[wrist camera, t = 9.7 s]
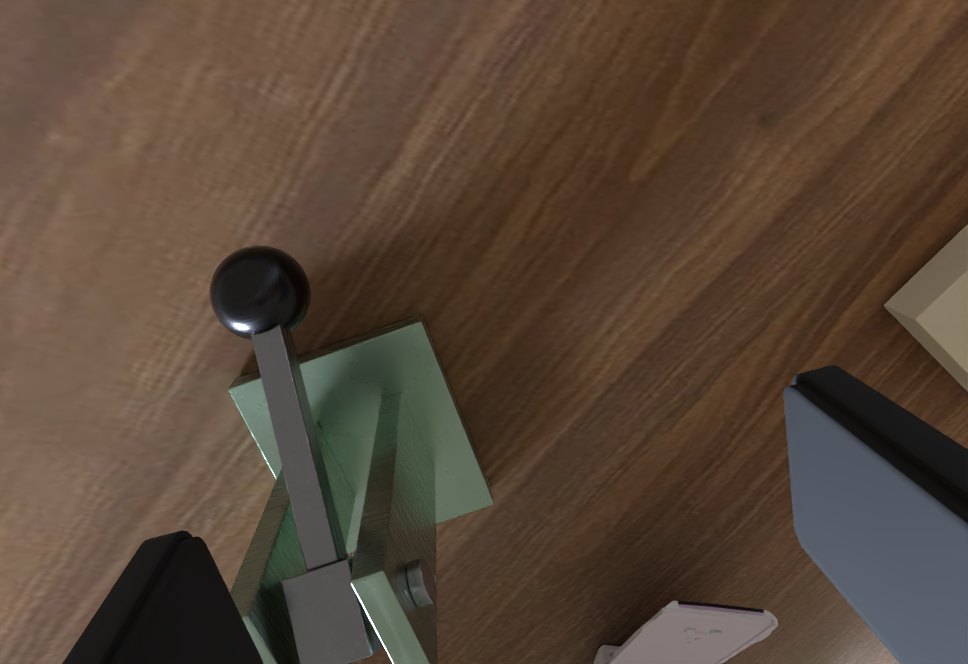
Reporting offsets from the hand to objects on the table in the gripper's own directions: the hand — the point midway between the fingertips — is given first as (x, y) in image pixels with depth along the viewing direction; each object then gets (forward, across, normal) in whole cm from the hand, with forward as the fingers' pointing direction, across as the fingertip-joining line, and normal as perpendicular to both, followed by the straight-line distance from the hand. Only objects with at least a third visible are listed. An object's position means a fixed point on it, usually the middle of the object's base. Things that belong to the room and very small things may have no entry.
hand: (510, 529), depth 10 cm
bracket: (+19, +6, +7) cm, 21 cm away
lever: (+12, +7, +4) cm, 14 cm away
